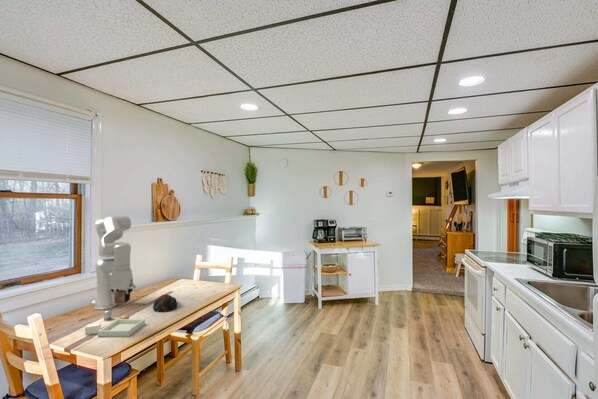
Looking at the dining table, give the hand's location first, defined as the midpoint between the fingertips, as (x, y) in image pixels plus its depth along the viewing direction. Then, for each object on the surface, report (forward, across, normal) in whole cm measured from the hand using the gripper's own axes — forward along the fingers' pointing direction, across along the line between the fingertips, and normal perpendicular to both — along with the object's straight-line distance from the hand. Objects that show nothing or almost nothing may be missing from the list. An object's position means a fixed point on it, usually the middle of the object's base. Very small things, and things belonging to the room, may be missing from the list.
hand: (122, 300), depth 161 cm
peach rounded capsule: (+16, -6, +12) cm, 21 cm away
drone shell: (+16, +6, +37) cm, 41 cm away
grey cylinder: (+16, -18, +15) cm, 28 cm away
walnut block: (+1, 0, 0) cm, 1 cm away
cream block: (+16, -14, -3) cm, 21 cm away
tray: (+16, 0, 0) cm, 16 cm away
